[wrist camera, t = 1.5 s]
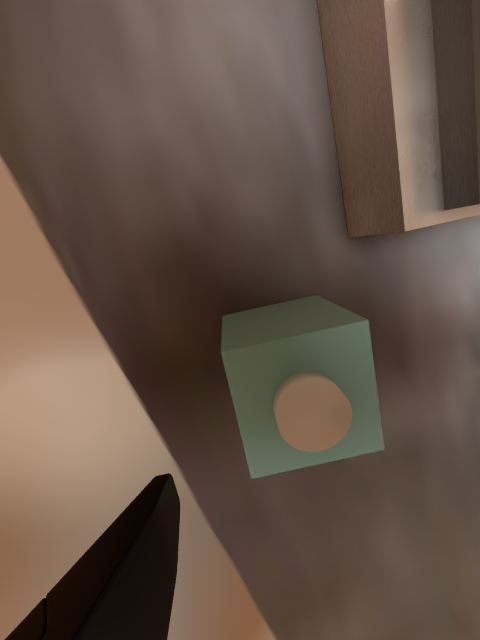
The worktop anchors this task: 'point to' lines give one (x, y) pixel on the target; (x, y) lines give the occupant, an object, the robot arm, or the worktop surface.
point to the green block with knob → (301, 384)
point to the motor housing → (404, 110)
